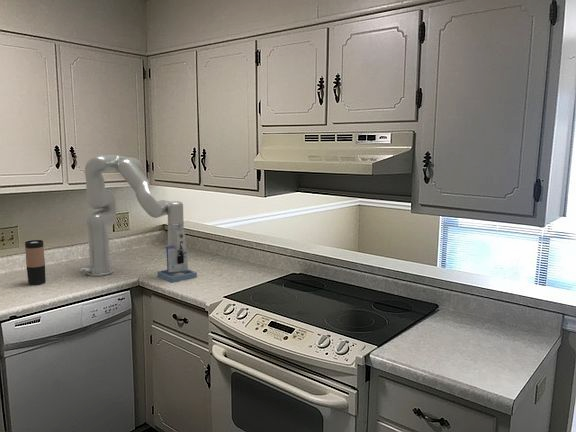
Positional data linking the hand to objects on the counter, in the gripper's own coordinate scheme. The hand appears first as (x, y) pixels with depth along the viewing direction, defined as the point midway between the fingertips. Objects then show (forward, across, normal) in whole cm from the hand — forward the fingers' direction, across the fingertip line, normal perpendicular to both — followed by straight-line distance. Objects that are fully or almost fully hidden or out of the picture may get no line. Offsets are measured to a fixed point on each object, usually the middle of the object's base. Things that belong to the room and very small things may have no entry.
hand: (176, 261), depth 232 cm
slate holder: (+8, 0, 0) cm, 8 cm away
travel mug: (+8, +33, +55) cm, 65 cm away
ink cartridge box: (+5, 0, 0) cm, 5 cm away
